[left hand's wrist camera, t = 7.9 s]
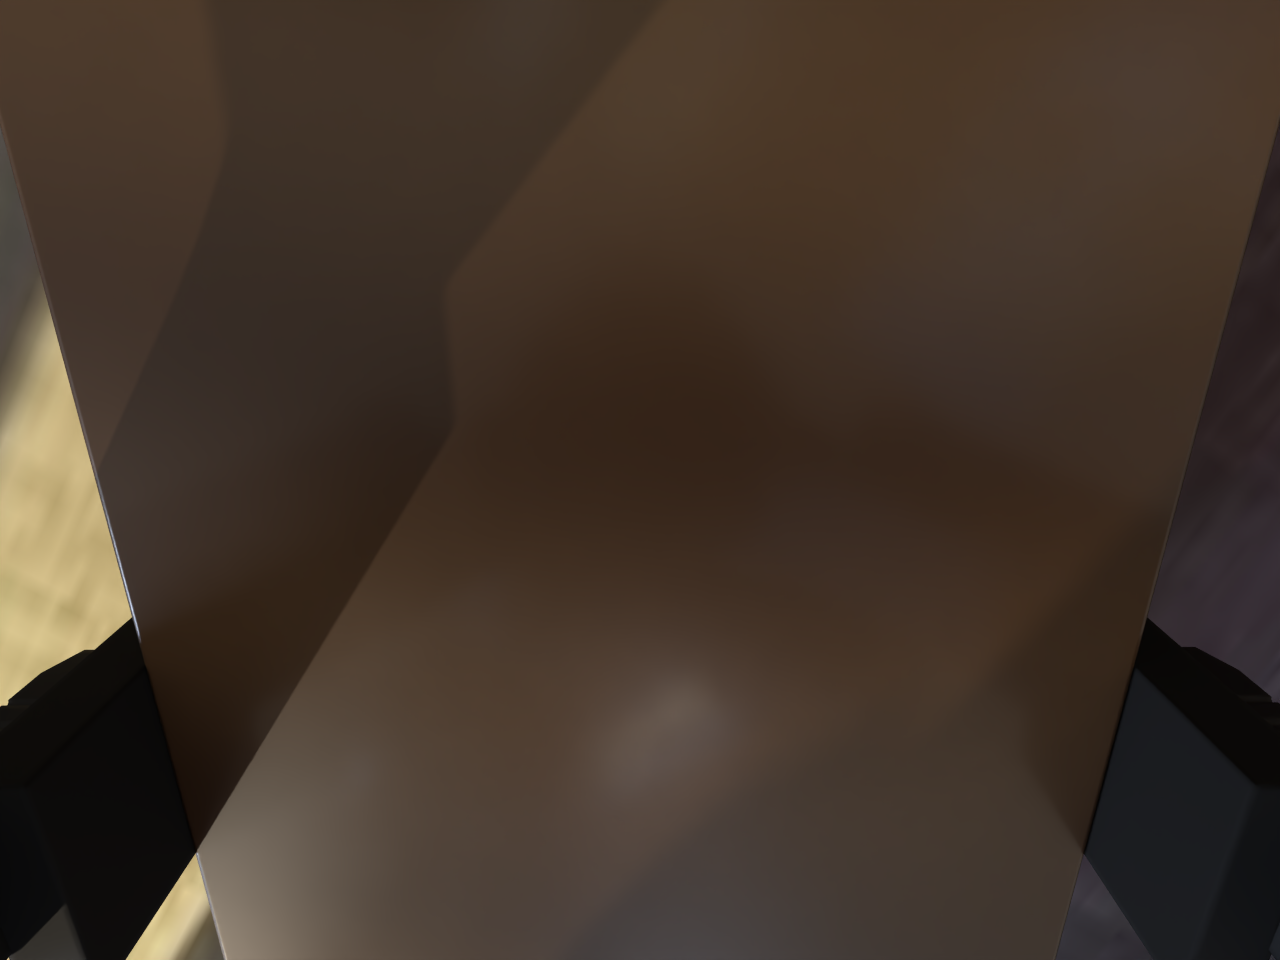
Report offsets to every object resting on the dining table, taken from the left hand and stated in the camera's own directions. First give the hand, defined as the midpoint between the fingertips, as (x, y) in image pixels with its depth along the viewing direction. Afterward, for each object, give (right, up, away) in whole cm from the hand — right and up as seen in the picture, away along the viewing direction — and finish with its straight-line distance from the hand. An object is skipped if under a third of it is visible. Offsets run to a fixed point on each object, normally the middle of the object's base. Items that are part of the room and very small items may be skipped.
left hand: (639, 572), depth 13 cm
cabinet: (0, +6, +2) cm, 6 cm away
